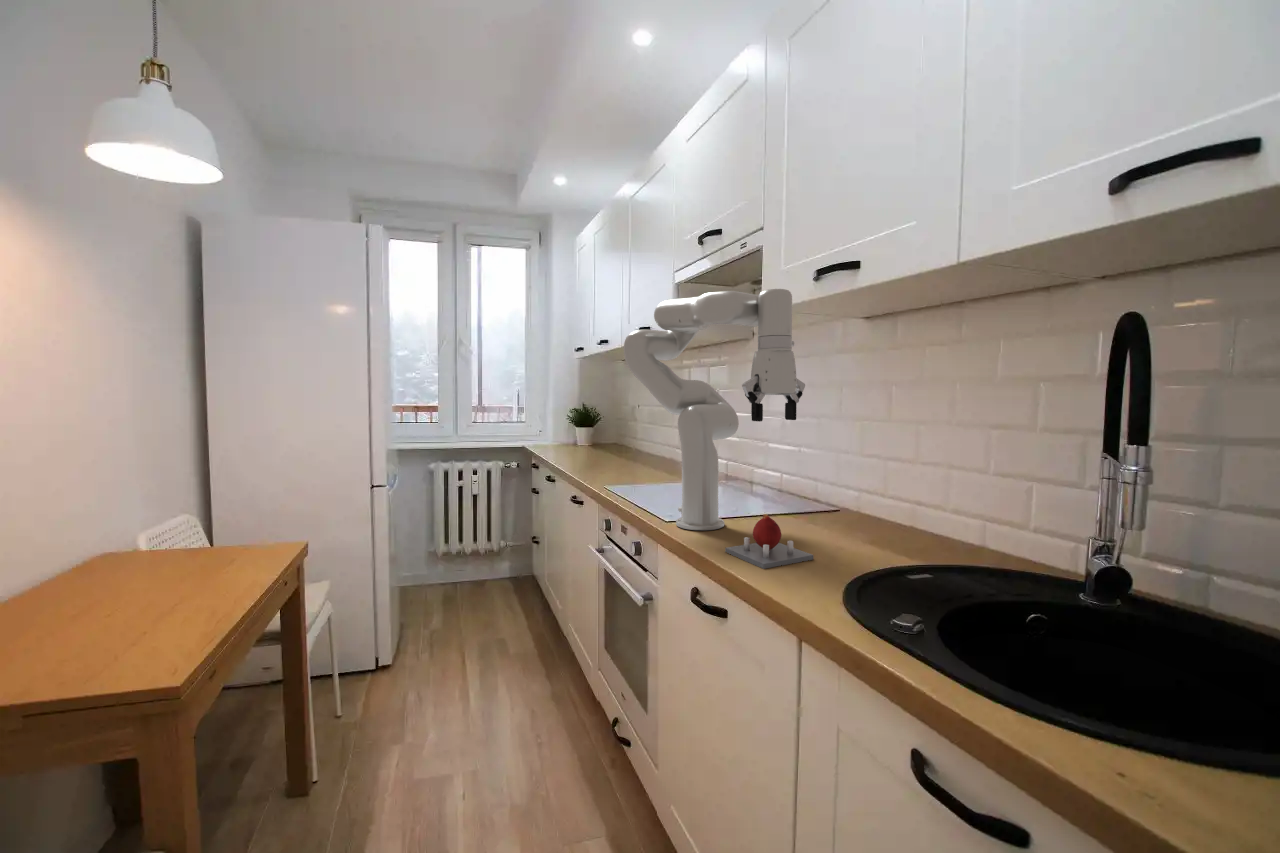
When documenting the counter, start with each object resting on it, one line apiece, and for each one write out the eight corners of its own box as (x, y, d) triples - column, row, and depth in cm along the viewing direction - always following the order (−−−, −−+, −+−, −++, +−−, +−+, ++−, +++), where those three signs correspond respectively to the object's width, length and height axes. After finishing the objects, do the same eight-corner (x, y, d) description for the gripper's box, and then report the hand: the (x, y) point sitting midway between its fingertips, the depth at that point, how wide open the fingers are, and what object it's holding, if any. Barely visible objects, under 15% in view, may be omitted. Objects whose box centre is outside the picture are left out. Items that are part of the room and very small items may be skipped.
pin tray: (725, 552, 123) (725, 536, 122) (772, 544, 128) (772, 529, 128) (763, 568, 111) (763, 551, 111) (813, 559, 117) (813, 543, 117)
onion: (771, 545, 123) (769, 509, 123) (787, 552, 118) (786, 514, 118) (748, 549, 121) (747, 513, 121) (763, 556, 116) (762, 518, 115)
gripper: (792, 347, 135) (792, 418, 136) (733, 345, 127) (733, 421, 128) (815, 345, 128) (814, 420, 129) (754, 342, 120) (753, 422, 121)
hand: (774, 420), depth 129 cm, fingers open, 9 cm apart
